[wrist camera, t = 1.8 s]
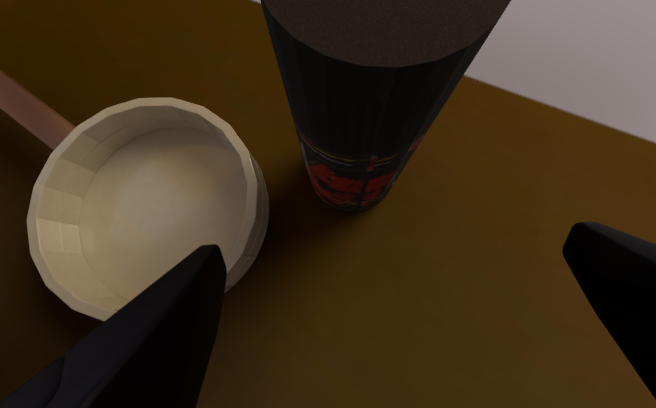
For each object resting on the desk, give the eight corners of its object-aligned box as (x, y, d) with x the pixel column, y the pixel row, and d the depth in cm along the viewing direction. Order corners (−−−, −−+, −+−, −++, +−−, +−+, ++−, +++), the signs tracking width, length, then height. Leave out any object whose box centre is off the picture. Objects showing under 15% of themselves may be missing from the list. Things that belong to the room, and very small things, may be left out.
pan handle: (68, 158, 20) (55, 152, 19) (-34, 78, 21) (-50, 69, 20) (88, 136, 20) (76, 130, 19) (-13, 59, 21) (-28, 49, 21)
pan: (181, 359, 19) (147, 377, 16) (37, 235, 21) (-21, 227, 18) (308, 190, 21) (303, 174, 18) (166, 91, 23) (137, 60, 20)
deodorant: (292, 158, 22) (206, -74, 7) (362, 115, 22) (412, -180, 8) (339, 228, 21) (348, 120, 6) (411, 181, 21) (578, -22, 7)
